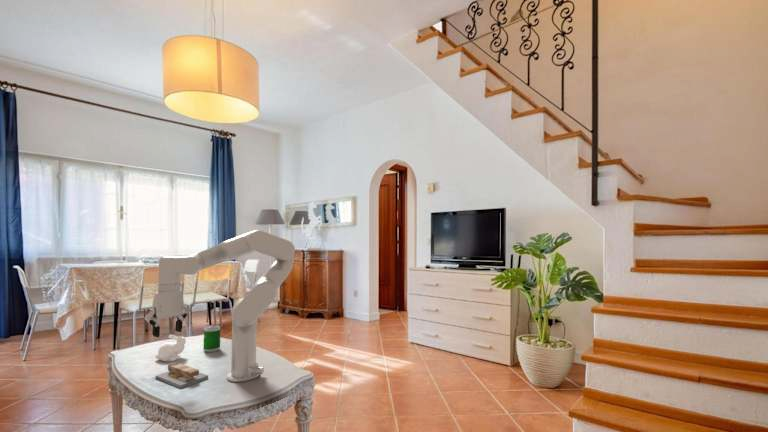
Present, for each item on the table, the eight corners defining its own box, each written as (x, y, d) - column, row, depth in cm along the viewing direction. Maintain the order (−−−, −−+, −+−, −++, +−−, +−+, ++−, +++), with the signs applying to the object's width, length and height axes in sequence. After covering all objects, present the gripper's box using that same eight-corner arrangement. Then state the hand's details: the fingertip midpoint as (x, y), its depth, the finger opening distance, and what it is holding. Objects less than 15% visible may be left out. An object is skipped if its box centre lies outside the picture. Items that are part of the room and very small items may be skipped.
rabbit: (185, 354, 170) (186, 329, 171) (183, 361, 162) (184, 334, 162) (156, 358, 166) (157, 332, 166) (152, 365, 157) (153, 337, 158)
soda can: (223, 348, 180) (223, 324, 180) (213, 353, 172) (214, 328, 173) (210, 347, 181) (210, 324, 182) (199, 352, 174) (200, 327, 174)
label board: (208, 378, 143) (208, 372, 143) (180, 388, 133) (180, 382, 133) (182, 369, 152) (182, 364, 152) (155, 378, 142) (155, 372, 142)
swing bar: (198, 375, 140) (198, 369, 140) (189, 378, 137) (189, 372, 137) (175, 366, 148) (175, 361, 148) (166, 369, 145) (166, 364, 145)
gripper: (186, 284, 146) (184, 327, 145) (139, 290, 131) (137, 338, 130) (196, 285, 142) (195, 330, 141) (150, 291, 127) (148, 341, 126)
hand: (167, 333), depth 136 cm, fingers open, 7 cm apart
